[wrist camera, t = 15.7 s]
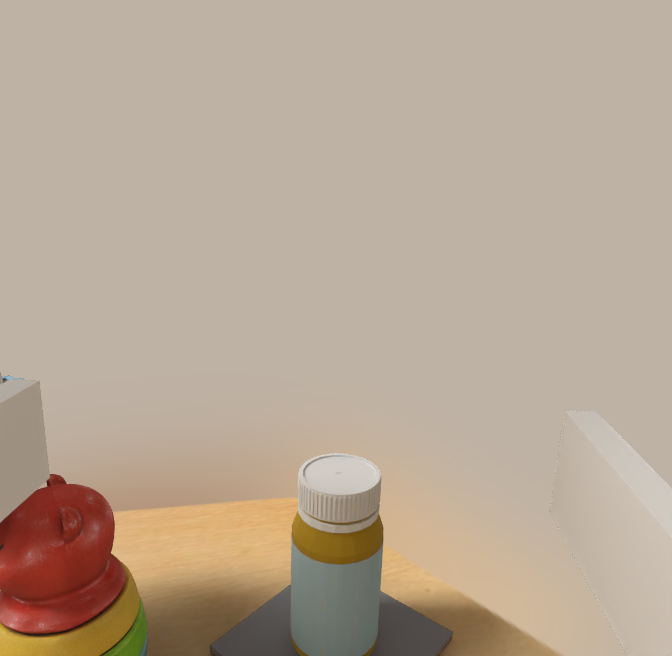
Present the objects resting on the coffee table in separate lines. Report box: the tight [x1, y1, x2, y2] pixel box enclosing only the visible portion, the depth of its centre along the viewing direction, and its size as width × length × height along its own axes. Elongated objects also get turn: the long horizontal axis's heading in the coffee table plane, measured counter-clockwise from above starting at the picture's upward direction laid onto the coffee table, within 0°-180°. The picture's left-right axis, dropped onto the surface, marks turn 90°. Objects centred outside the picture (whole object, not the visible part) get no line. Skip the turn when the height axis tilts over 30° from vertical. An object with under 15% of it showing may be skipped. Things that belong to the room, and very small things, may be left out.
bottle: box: [291, 453, 383, 656], centre depth 43 cm, size 7×7×15 cm
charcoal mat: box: [210, 585, 453, 656], centre depth 45 cm, size 14×14×1 cm
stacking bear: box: [0, 474, 148, 656], centre depth 35 cm, size 11×10×18 cm
